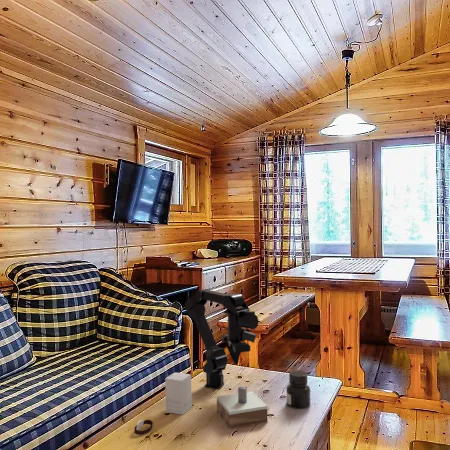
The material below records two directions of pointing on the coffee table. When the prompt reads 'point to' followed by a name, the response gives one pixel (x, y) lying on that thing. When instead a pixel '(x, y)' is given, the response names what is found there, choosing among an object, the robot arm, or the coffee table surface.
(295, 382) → the ink bottle
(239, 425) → the walnut box
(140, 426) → the watch
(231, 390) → the coffee table surface
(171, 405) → the supplement box
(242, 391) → the box lid
